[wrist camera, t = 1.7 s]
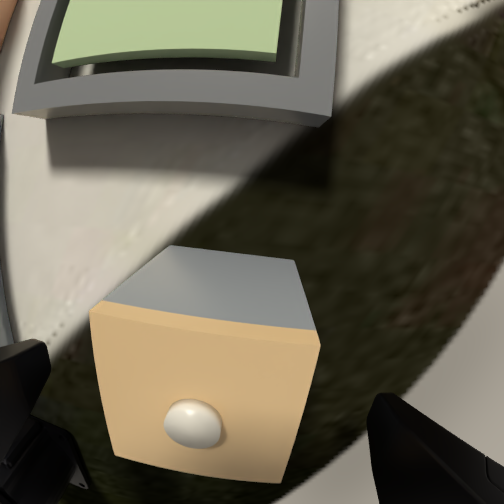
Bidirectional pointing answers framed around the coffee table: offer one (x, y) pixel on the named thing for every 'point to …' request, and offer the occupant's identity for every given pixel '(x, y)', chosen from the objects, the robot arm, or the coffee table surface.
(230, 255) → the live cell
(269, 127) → the coffee table surface
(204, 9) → the light green square plate
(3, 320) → the tray
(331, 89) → the checker frame
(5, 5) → the cup
